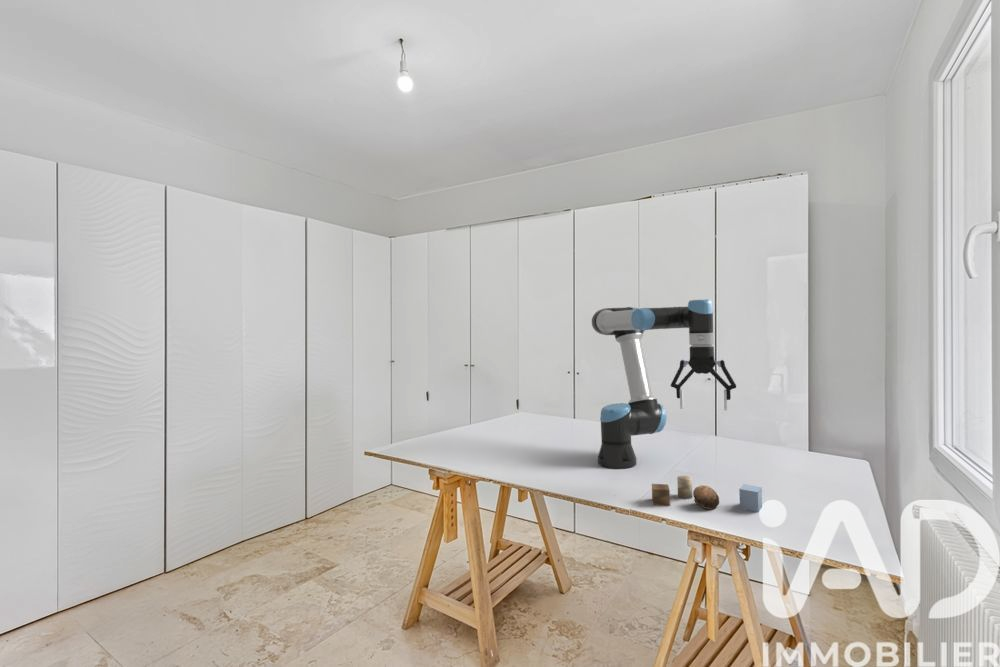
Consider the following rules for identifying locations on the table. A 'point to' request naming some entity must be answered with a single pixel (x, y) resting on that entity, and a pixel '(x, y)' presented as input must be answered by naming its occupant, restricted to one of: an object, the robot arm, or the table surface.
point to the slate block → (750, 498)
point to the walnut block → (661, 494)
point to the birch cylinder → (684, 487)
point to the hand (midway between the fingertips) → (703, 408)
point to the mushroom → (706, 497)
